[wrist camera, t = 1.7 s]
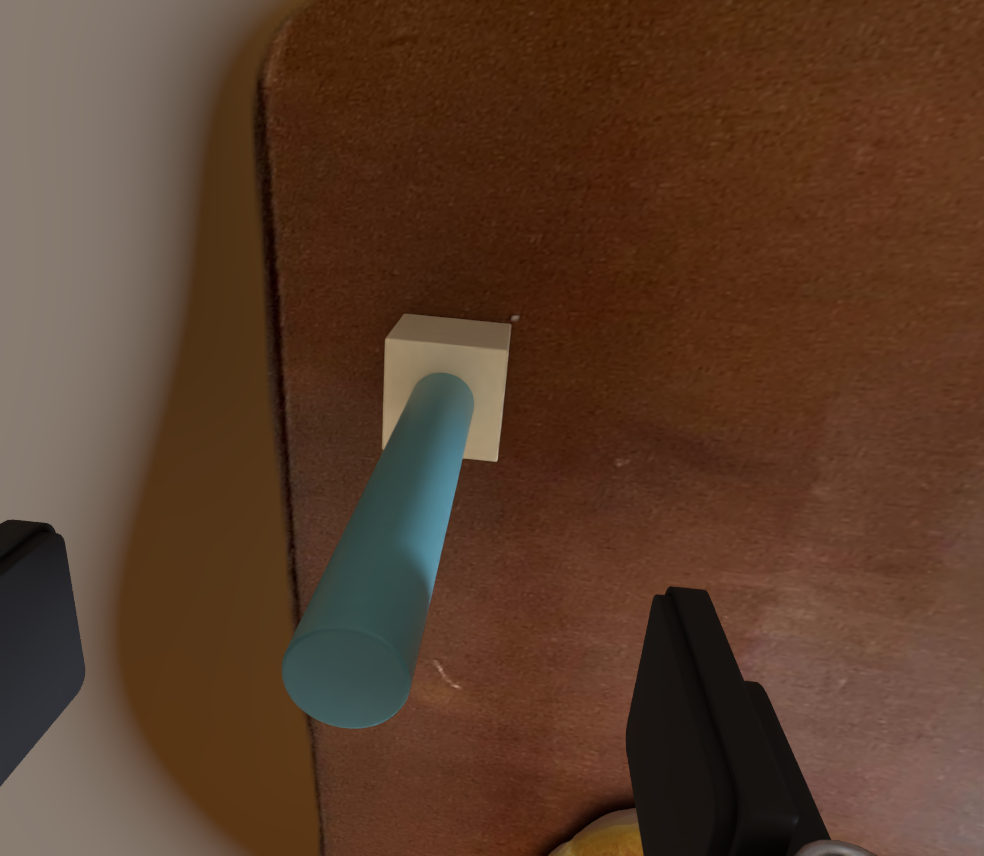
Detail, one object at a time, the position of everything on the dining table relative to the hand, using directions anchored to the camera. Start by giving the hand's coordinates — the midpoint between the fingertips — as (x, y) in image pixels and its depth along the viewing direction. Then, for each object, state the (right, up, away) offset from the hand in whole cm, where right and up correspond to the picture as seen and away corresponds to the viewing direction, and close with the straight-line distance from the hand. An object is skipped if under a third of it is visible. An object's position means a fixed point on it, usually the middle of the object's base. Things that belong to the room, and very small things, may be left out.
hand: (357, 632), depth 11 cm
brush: (+1, +5, +11) cm, 13 cm away
